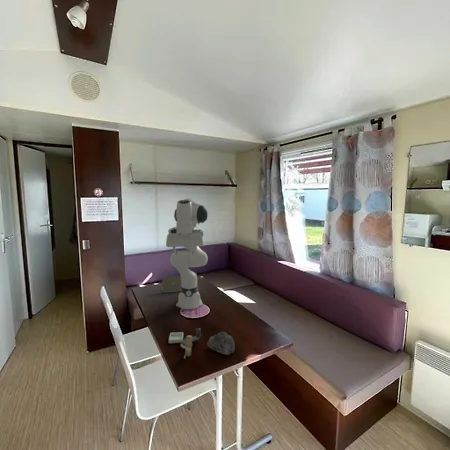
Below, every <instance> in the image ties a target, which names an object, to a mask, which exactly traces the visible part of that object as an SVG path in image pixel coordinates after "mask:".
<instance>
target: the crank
mask: <svg viewBox="0 0 450 450" xmlns="http://www.w3.org/2000/svg"><path fill="white" fill-rule="evenodd" d="M201 332H202V329H201V327H196V329H195V333H196V334H195V336H192V342H194V341H197V340H200V338H201V336H202V333H201ZM182 344H183V345H184V346H185V345H186V337H183V340H182Z"/></svg>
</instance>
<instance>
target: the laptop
mask: <svg viewBox="0 0 450 450" xmlns="http://www.w3.org/2000/svg"><path fill="white" fill-rule="evenodd" d="M172 292H181V276H180V275H174V276H173V275H172V276H162V277H161V293H172Z"/></svg>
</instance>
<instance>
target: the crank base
mask: <svg viewBox="0 0 450 450" xmlns="http://www.w3.org/2000/svg"><path fill="white" fill-rule="evenodd" d="M180 348H182V349H183V350H185V346H184V345H183V344H182V342H181V343H180ZM186 358H187V356H185V354H184V355H183V359H186Z"/></svg>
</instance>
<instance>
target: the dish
mask: <svg viewBox="0 0 450 450" xmlns="http://www.w3.org/2000/svg"><path fill="white" fill-rule="evenodd" d="M183 339H184V332H181V331H180V332H170V333H169V337H168V344H181V342H182V340H183Z"/></svg>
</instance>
